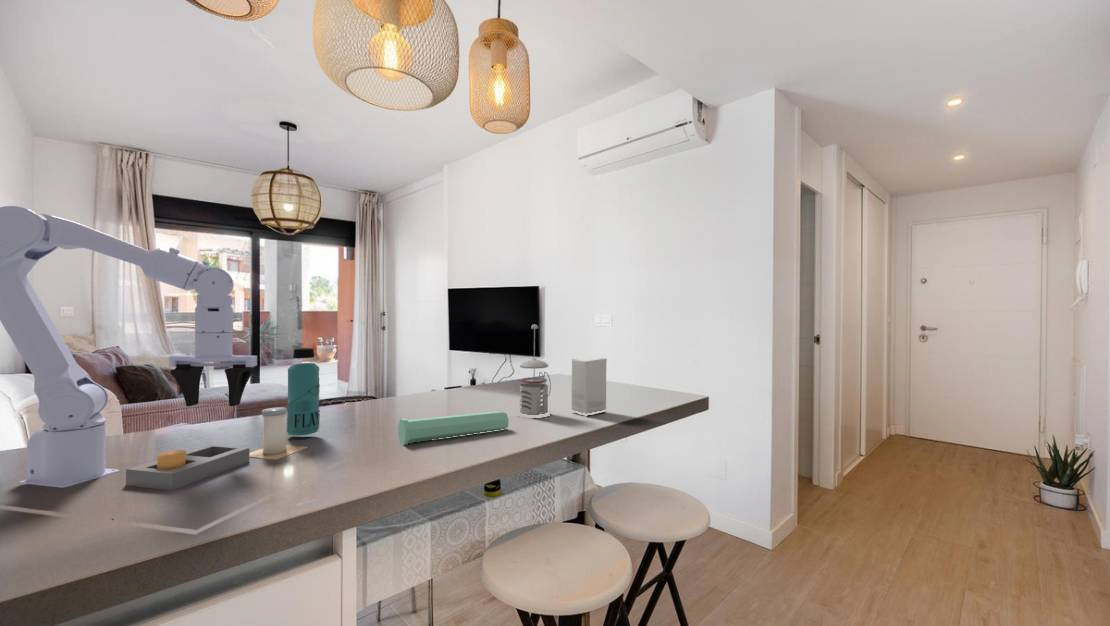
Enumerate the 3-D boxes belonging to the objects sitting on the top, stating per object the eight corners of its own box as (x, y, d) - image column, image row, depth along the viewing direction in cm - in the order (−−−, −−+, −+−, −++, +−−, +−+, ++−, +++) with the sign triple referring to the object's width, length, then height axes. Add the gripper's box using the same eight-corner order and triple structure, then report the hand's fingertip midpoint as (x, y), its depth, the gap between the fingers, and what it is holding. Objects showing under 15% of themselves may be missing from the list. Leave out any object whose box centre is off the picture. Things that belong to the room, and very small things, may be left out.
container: (504, 403, 114) (400, 412, 100) (514, 417, 109) (406, 428, 96) (499, 423, 116) (396, 435, 102) (509, 438, 111) (403, 452, 98)
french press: (538, 409, 135) (539, 323, 135) (562, 417, 126) (563, 324, 126) (509, 413, 130) (510, 324, 129) (532, 421, 120) (533, 325, 120)
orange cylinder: (150, 477, 74) (151, 455, 74) (173, 470, 78) (173, 449, 78) (169, 479, 74) (169, 457, 74) (191, 471, 77) (191, 450, 77)
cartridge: (256, 454, 89) (256, 411, 89) (272, 448, 93) (271, 407, 93) (277, 455, 89) (277, 412, 89) (291, 448, 93) (291, 407, 93)
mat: (240, 459, 88) (240, 455, 88) (274, 447, 96) (274, 444, 96) (276, 462, 86) (276, 459, 86) (307, 449, 94) (307, 446, 94)
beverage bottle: (289, 444, 98) (290, 349, 98) (283, 437, 103) (284, 347, 103) (323, 439, 102) (323, 348, 102) (315, 433, 107) (316, 346, 107)
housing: (125, 488, 73) (125, 469, 73) (208, 460, 87) (208, 444, 87) (172, 493, 71) (172, 473, 71) (249, 464, 85) (249, 447, 85)
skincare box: (591, 409, 136) (592, 356, 136) (607, 413, 131) (608, 358, 131) (570, 413, 131) (570, 358, 131) (586, 417, 126) (586, 360, 125)
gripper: (156, 333, 82) (155, 409, 82) (241, 333, 83) (240, 409, 83) (185, 331, 89) (185, 402, 89) (263, 332, 90) (263, 401, 90)
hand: (213, 405), depth 87 cm, fingers open, 7 cm apart
